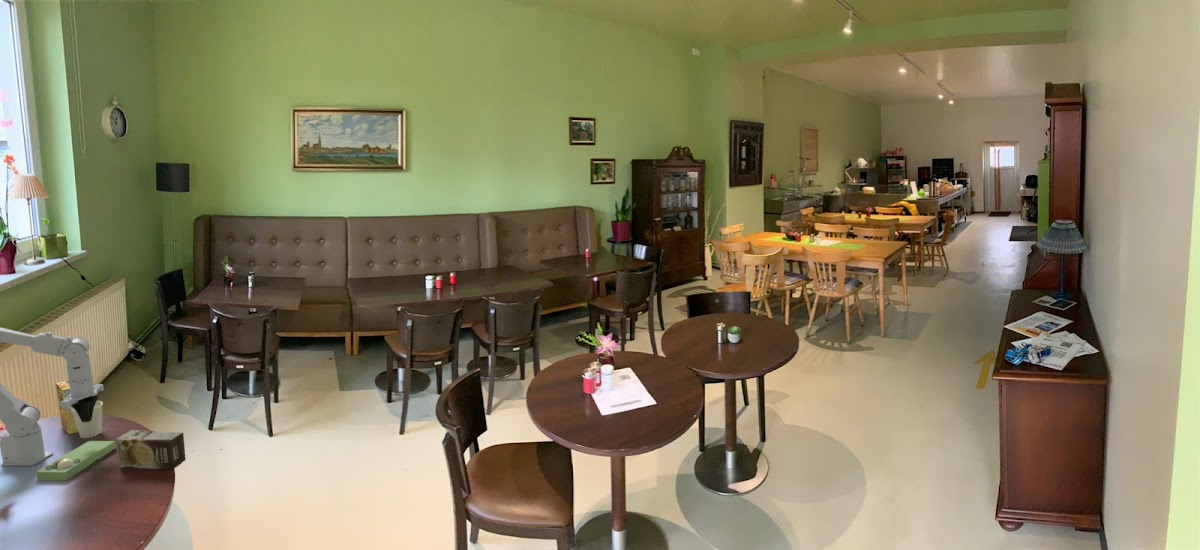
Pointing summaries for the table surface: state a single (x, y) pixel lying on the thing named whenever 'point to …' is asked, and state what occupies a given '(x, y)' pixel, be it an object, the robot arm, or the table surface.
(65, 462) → the ball
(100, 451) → the putting mat
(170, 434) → the coffee box
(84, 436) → the dixie cup
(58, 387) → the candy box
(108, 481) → the table surface
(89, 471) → the table surface
